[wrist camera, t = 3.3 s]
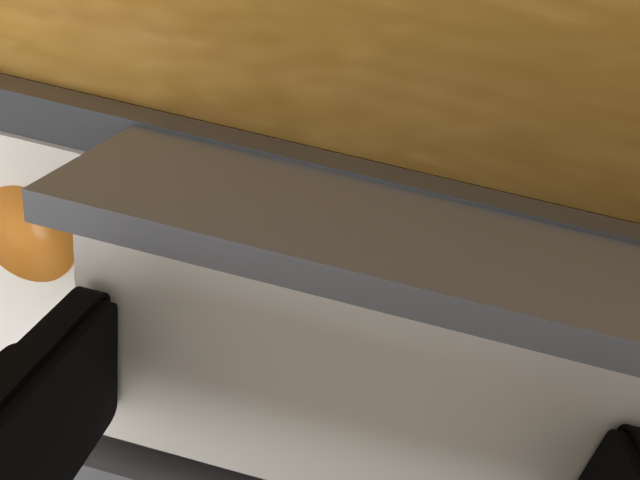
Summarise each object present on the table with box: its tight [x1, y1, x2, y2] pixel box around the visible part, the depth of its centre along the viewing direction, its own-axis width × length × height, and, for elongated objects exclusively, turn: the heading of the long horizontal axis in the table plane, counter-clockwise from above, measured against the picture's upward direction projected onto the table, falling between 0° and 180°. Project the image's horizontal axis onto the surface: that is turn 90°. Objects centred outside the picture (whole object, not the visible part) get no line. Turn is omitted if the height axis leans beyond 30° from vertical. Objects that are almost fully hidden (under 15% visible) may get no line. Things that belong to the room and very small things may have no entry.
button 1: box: [73, 234, 640, 480], centre depth 12 cm, size 11×5×3 cm, turn 80°
